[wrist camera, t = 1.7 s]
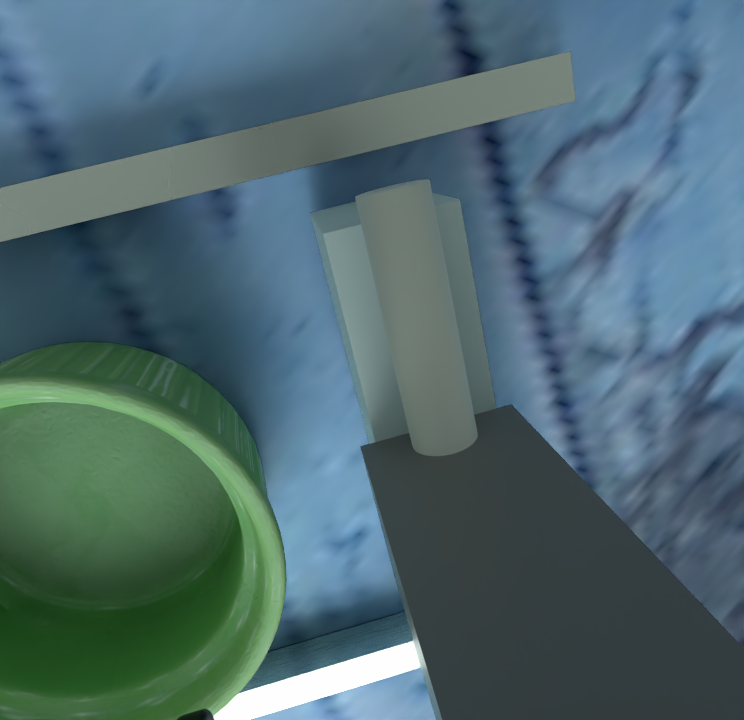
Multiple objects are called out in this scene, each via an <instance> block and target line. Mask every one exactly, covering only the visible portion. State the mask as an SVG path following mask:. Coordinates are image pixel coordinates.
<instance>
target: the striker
mask: <svg viewBox="0 0 744 720" xmlns="http://www.w3.org/2000/svg"><path fill="white" fill-rule="evenodd" d="M355 200H356V201H355V202H351V203H347V204H343V205H339V206H335V207H331V208H327V209H323V210H319V211H315V212H311V213H310V216H311V220H312V224H313V228H314V231H315V235H316V239H317V243H318V247H319V251H320V255H321V259H322V262H323V266H324V270H325V274H326V278H327V282H328V286H329V290H330V294H331V297H332V301H333V305H334V309H335V313H336V317H337V321H338V325H339V329H340V332H341V336H342V340H343V344H344V348H345V352H346V356H347V360H348V364H349V367H350V371H351V375H352V379H353V383H354V387H355V391H356V395H357V398H358V402H359V406H360V410H361V414H362V418H363V422H364V426H365V430H366V433H367V437H368V441H369V444H367V445H364V446H360V447H361V451H362V454H363V458H364V462H365V466H366V470H367V473H368V477H369V481H370V485H371V489H372V492H373V496H374V500H375V504H376V508H377V511H378V515H379V519H380V523H381V527H382V530H383V534H384V538H385V542H386V546H387V549H388V553H389V557H390V561H391V565H392V568H393V572H394V576H395V579H396V583H397V586H398V590H399V593H400V597H401V600H402V604H403V607H404V610H405V614H406V617H407V621H408V624H409V628H410V631H411V635H412V638H413V642H414V645H415V649H416V652H417V656H418V659H419V662H420V666H421V669H422V673H423V676H424V680H425V683H426V687H427V690H428V694H429V697H430V701H431V704H432V707H433V711H434V714H435V718H436V720H744V648H743V647H742V646H741V645H740V644H739V643H738V642H737V641H736V640H735V639H734V638H733V637H732V636H731V635H730V634H729V633H728V631H727V630H726V629H725V628H724V627H723V626H722V625H721V624H720V623H719V622H718V621H717V620H716V619H715V618H714V617H713V616H712V615H711V614H710V613H709V611H708V610H707V609H706V608H705V607H704V606H703V605H702V604H701V603H700V602H699V601H698V600H697V599H696V598H695V597H694V596H693V595H692V594H691V593H690V592H689V590H688V589H687V588H686V587H685V586H684V585H683V584H682V583H681V582H680V581H679V580H678V579H677V578H676V577H675V576H674V575H673V574H672V573H671V572H670V571H669V569H668V568H667V567H666V566H665V565H664V564H663V563H662V562H661V561H660V560H659V559H658V558H657V557H656V556H655V555H654V554H653V553H652V552H651V551H650V550H649V548H648V547H647V546H646V545H645V544H644V543H643V542H642V541H641V540H640V539H639V538H638V537H637V536H636V535H635V534H634V533H633V532H632V531H631V530H630V529H629V527H628V526H627V525H626V524H625V523H624V522H623V521H622V520H621V519H620V518H619V517H618V516H617V515H616V514H615V513H614V512H613V511H612V510H611V509H610V508H609V506H608V505H607V504H606V503H605V502H604V501H603V500H602V499H601V498H600V497H599V496H598V495H597V494H596V493H595V492H594V491H593V490H592V489H591V488H590V487H589V485H588V484H587V483H586V482H585V481H584V480H583V479H582V478H581V477H580V476H579V475H578V474H577V473H576V472H575V471H574V470H573V469H572V468H571V467H570V466H569V464H568V463H567V462H566V461H565V460H564V459H563V458H562V457H561V456H560V455H559V454H558V453H557V452H556V451H555V450H554V449H553V448H552V447H551V446H550V445H549V443H548V442H547V441H546V440H545V439H544V438H543V437H542V436H541V435H540V434H539V433H538V432H537V431H536V430H535V429H534V428H533V427H532V426H531V425H530V424H529V422H528V421H527V420H526V419H525V418H524V417H523V416H522V415H521V414H520V413H519V412H518V411H517V410H516V409H515V408H514V407H513V406H512V405H507V406H504V407H500V408H497V409H496V403H495V397H494V392H493V386H492V380H491V374H490V369H489V363H488V357H487V352H486V346H485V340H484V334H483V329H482V323H481V317H480V311H479V306H478V300H477V294H476V289H475V283H474V277H473V271H472V266H471V260H470V254H469V248H468V243H467V237H466V231H465V226H464V220H463V214H462V208H461V203H460V199H457V198H453V197H448V196H444V195H440V194H436V193H432V189H431V184H430V180H429V179H422V180H415V181H409V182H404V183H399V184H394V185H390V186H386V187H382V188H378V189H375V190H371V191H368V192H365V193H362V194H359V195H357V196H356V197H355Z"/></svg>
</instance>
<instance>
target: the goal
mask: <svg viewBox="0 0 744 720" xmlns="http://www.w3.org/2000/svg"><path fill="white" fill-rule="evenodd" d="M573 101H575V91H574V82H573V72H572V63H571V54H570V52H565V53H561V54H557V55H553V56H549V57H545V58H540V59H536V60H532V61H528V62H524V63H520V64H515V65H511V66H507V67H503V68H499V69H494V70H490V71H486V72H482V73H478V74H474V75H469V76H465V77H461V78H457V79H453V80H449V81H444V82H440V83H436V84H432V85H428V86H424V87H419V88H415V89H411V90H407V91H403V92H398V93H394V94H390V95H386V96H382V97H378V98H373V99H369V100H365V101H361V102H357V103H353V104H348V105H344V106H340V107H336V108H332V109H327V110H323V111H319V112H315V113H311V114H307V115H302V116H298V117H294V118H290V119H286V120H282V121H277V122H273V123H269V124H265V125H261V126H257V127H252V128H248V129H244V130H240V131H236V132H231V133H227V134H223V135H219V136H215V137H211V138H206V139H202V140H198V141H194V142H190V143H186V144H181V145H177V146H173V147H169V148H165V149H160V150H156V151H152V152H148V153H144V154H140V155H135V156H131V157H127V158H123V159H119V160H115V161H110V162H106V163H102V164H98V165H94V166H90V167H85V168H81V169H77V170H73V171H69V172H64V173H60V174H56V175H52V176H48V177H44V178H39V179H35V180H31V181H27V182H23V183H19V184H14V185H10V186H6V187H2V188H0V242H3V241H7V240H11V239H15V238H19V237H23V236H27V235H31V234H35V233H39V232H43V231H47V230H52V229H56V228H60V227H64V226H68V225H72V224H76V223H80V222H84V221H88V220H92V219H96V218H100V217H104V216H109V215H113V214H117V213H121V212H125V211H129V210H133V209H137V208H141V207H145V206H149V205H153V204H157V203H162V202H166V201H170V200H174V199H178V198H182V197H186V196H190V195H194V194H198V193H202V192H206V191H210V190H215V189H219V188H223V187H227V186H231V185H235V184H239V183H243V182H247V181H251V180H255V179H259V178H263V177H268V176H272V175H276V174H280V173H284V172H288V171H292V170H296V169H300V168H304V167H308V166H312V165H316V164H321V163H325V162H329V161H333V160H337V159H341V158H345V157H349V156H353V155H357V154H361V153H365V152H369V151H373V150H378V149H382V148H386V147H390V146H394V145H398V144H402V143H406V142H410V141H414V140H418V139H422V138H426V137H431V136H435V135H439V134H443V133H447V132H451V131H455V130H459V129H463V128H467V127H471V126H475V125H479V124H484V123H488V122H492V121H496V120H500V119H504V118H508V117H512V116H516V115H520V114H524V113H528V112H532V111H537V110H541V109H545V108H549V107H553V106H557V105H561V104H565V103H569V102H573ZM420 667H421V666H420V662H419V659H418V656H417V652H416V649H415V645H414V642H413V638H412V635H411V631H410V628H409V624H408V621H407V617H406V614H405V612H402V613H398V614H395V615H392V616H388V617H385V618H382V619H378V620H375V621H372V622H368V623H365V624H361V625H358V626H355V627H351V628H348V629H345V630H341V631H338V632H335V633H331V634H328V635H325V636H321V637H318V638H315V639H311V640H308V641H304V642H301V643H298V644H294V645H291V646H288V647H284V648H281V649H278V650H274V651H271V652H268V653H267V654H266V656H265V658H264V660H263V661H262V663H261V665H260V666H259V668H258V670H257V671H256V672H255V674H254V675H253V677H252V678H251V680H250V681H249V682H248V683H247V684H246V686H245V687H244V688H243V689H242V690H241V691H240V692H239V693H238V694H237V695H236V696H235V697H234V698H233V699H232V700H231V701H230V702H229V703H228V704H227V705H226V706H225V707H224V708H223V709H222V710H220V711H219V712H218V713H217V714H216V715H214V719H215V720H250V719H253V718H256V717H260V716H263V715H266V714H270V713H273V712H276V711H279V710H283V709H286V708H289V707H293V706H296V705H299V704H302V703H306V702H309V701H312V700H315V699H319V698H322V697H325V696H329V695H332V694H335V693H338V692H342V691H345V690H348V689H352V688H355V687H358V686H361V685H365V684H368V683H371V682H374V681H378V680H381V679H384V678H388V677H391V676H394V675H397V674H401V673H404V672H407V671H411V670H414V669H417V668H420Z"/></svg>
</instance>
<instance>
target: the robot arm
mask: <svg viewBox="0 0 744 720" xmlns="http://www.w3.org/2000/svg"><path fill="white" fill-rule="evenodd" d="M177 720H215V719H214V716H213V714H212V713H211V712H210V710H208V709H201V710H198V711H194V712H191V713H188V714H184V715H182V716H180V717H179V718H178V719H177Z"/></svg>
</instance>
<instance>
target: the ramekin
mask: <svg viewBox="0 0 744 720" xmlns="http://www.w3.org/2000/svg"><path fill="white" fill-rule="evenodd" d="M285 592H286V561H285V554H284V547H283V542H282V537H281V533H280V530H279V527H278V524H277V520H276V517H275V514H274V512H273V509H272V507H271V504H270V502H269V500H268V496H267V490H266V485H265V478H264V473H263V467H262V463H261V459H260V457H259V454H258V450H257V447H256V444H255V442H254V440H253V438H252V436H251V434H250V433H249V431H248V429H247V427H246V425H245V423H244V421H243V420H242V418H241V417H240V416H239V414H238V413H237V412H236V410H235V409H234V408H233V406H232V405H231V404H230V403H229V402H228V401H227V400H226V399H225V398H224V397H223V396H222V395H221V394H220V392H219V391H218V390H217V389H215V388H214V387H213V386H212V385H210V384H209V383H208V382H206V381H205V380H204V379H203V378H202V377H200V376H199V375H198V374H197V373H195V372H194V371H192V370H190V369H189V368H187V367H186V366H184V365H182V364H180V363H178V362H176V361H174V360H172V359H169V358H167V357H165V356H162V355H159V354H156V353H154V352H151V351H146V350H143V349H140V348H137V347H134V346H127V345H120V344H114V343H102V342H76V343H63V344H57V345H53V346H48V347H43V348H39V349H36V350H32V351H30V352H27V353H25V354H22V355H19V356H15V357H12V358H10V359H8V360H6V361H4V362H2V363H0V720H177V719H178V718H179V717H180V716H182V715H184V714H188V713H191V712H194V711H198V710H201V709H208V710H210V712H211V713H212V714H213V716H214V715H216V714H217V713H218V712H219V711H220V710H222V709H223V708H224V707H225V706H226V705H227V704H228V703H229V702H230V701H231V700H232V699H233V698H234V697H235V696H236V695H237V694H238V693H239V692H240V691H241V690H242V689H243V688H244V687H245V686H246V684H247V683H248V682H249V681H250V680H251V678H252V677H253V675H254V674H255V672H256V671H257V670H258V668H259V666H260V665H261V663H262V661H263V660H264V658H265V656H266V654H267V652H268V650H269V648H270V646H271V644H272V642H273V639H274V637H275V634H276V632H277V629H278V626H279V622H280V619H281V615H282V611H283V606H284V600H285Z"/></svg>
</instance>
